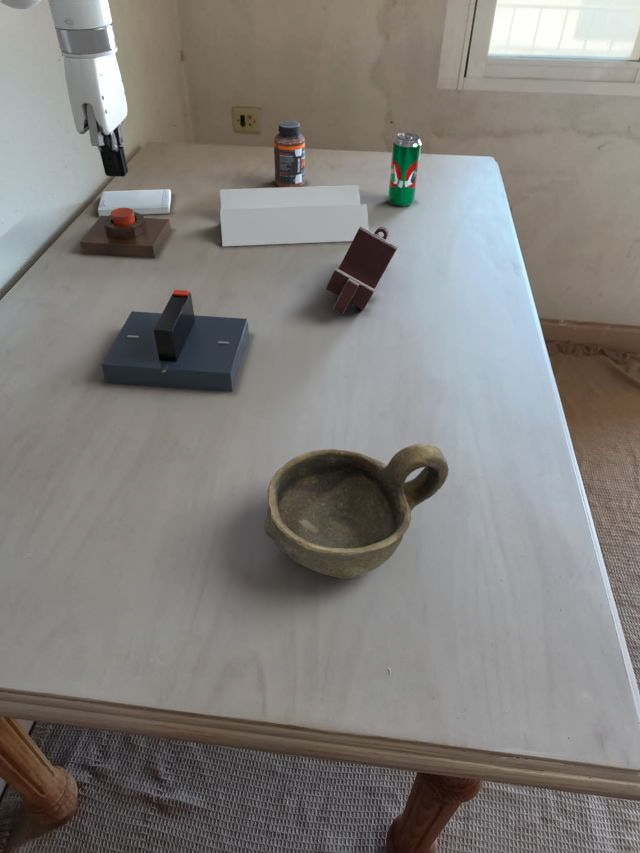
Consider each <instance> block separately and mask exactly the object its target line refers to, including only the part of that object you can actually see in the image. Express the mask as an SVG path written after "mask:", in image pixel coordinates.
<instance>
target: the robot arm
mask: <svg viewBox="0 0 640 853" xmlns="http://www.w3.org/2000/svg"><path fill="white" fill-rule="evenodd" d="M42 1H43V0H0V3H1V4H3V5H4V6H7V7H9V8H12V9H17V10H28V9H32V8H34V7H36V6H38V5H39V4H40V3H41V2H42ZM47 1H48V5H49V6H48V7H49V9H50V13H51V17H52V21H53V25H54V29H55V34H56V37H57V41H58V45H59V49H60V52H61V55H62V56H63V66H64V75H65V82H66V88H67V94H68V100H69V104H70V109H71V113H72V118H73V122H74V126H75V129H76V130H75V131H76V132H77V133H78V134H79V135H85V134H86V133H87V132H89V137H90V138H89V140H90V145H91V146H92V147H97V149H98V150H97V151H99V154H100V157H101V158H100V159H101V163H102V166H103V171H104V174H105V176H106V177H125V176H127V174H128V173H129V168H128V167H129V166H128V163H127V159H126V154H125V148H124V137H123V132H122V126H123V123H124V120H125V119H126V118H127V115H128V113H129V112H128V104H127V98H126V97H127V96H126V93H125V92H126V91H125V87H124V82H123V79H122V74H121V70H120V67H119V62H118V59H117V56H116V53H118V44H117V39H116V33H115V29H114V24H113V19H112V13H111V8H110V5H109V0H47Z"/></svg>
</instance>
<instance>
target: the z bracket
mask: <svg viewBox="0 0 640 853" xmlns="http://www.w3.org/2000/svg"><path fill="white" fill-rule="evenodd" d="M360 193H361V192H360V185H359V184H349V185H348V184H347V185H346V184H345V185H344V184H343V185H315V186H314V185H313V186H301V187H280V186H279V187H255V188H254V187H252V188H221V189H219V197H220V209H219V214H220V216H219V217H220V230H221V242H222V244H221V246H222V248H223V247H224V248H227V247H228V248H229V247H247V246H248V247H251V246H252V247H253V246H272V245H273V246H274V245H276V246H277V245H293V244H295V245H298V244H299V245H300V244H322V243H323V244H324V243H325V244H326V243H347V242H352V241H353V239H354V237H355V235H356V233H357V231H358V229H359V228H360V226H362V227H364V228H366V229H367V230H369V231H370V229H369V228H370V227H369V214H368V203H364V204H363V203H362V204H361V194H360Z"/></svg>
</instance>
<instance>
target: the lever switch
mask: <svg viewBox="0 0 640 853" xmlns="http://www.w3.org/2000/svg"><path fill="white" fill-rule="evenodd" d="M162 313H163V312H148V311H147V312H146V311H131V312H130V313H129V315H128V317H127V318H126V320H125V322H124V324H123V325H122V328H121V329H120V331H119V332H118V334H117V336H116V338H115V340H114V342H113V344H112V345H111V347H110V349H109V350H108V352H107V354H106V355H105V357H104V359H103V361H102V363H101V364H100V365H101V368H102V373H103V377H104V379H105V383H106V384H111V385H112V384H113V385H128V386H143V387H154V388H155V387H156V388H170V389H171V388H172V389H183V390H184V389H185V390H198V391H210V392H211V391H213V392H224V393H225V392H226V393H227V392H228V393H233V392H234V388H235V384H236V381H237V378H238V375H239V372H240V369H241V365H242V361H243V358H244V356H245V352H246V348H247V344H248V342H249V338H250V332H249V331H250V330H249V319H248V318H242V317H241V318H240V317H225V316H212V315H211V316H210V315H196V314H194V318H195V322H194V324H193V327H192V329H191V331H190V333H189V335H188V338H187V340H186V342H185V344H184V347H183V349H182V351H181V353H180V355H179V358H178V360H177V362H174V361H161V360H159V356H158V351H157V346H156V341H155V335H154V328H155V326H156V324H157V322H158V320H159V318H160V317H161V315H162Z"/></svg>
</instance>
